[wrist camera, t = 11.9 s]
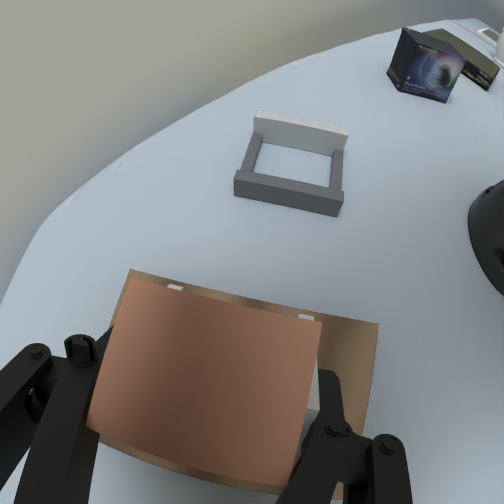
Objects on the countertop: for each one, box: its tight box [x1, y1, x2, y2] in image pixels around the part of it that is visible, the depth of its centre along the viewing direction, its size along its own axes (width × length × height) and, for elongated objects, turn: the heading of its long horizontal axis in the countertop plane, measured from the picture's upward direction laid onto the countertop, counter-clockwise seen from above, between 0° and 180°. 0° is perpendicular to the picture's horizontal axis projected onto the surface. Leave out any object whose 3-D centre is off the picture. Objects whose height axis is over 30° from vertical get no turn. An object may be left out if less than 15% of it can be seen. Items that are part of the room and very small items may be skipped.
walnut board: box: [99, 269, 378, 499], centre depth 20 cm, size 20×14×2 cm
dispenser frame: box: [234, 110, 348, 217], centre depth 29 cm, size 10×9×4 cm
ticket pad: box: [85, 277, 322, 487], centre depth 13 cm, size 6×5×11 cm
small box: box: [387, 27, 466, 103], centre depth 37 cm, size 11×6×10 cm, turn 91°
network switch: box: [422, 29, 500, 90], centre depth 52 cm, size 23×23×5 cm
